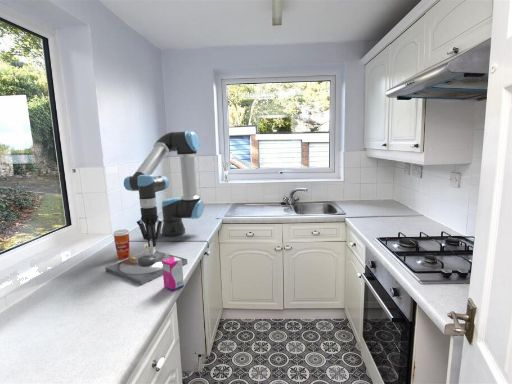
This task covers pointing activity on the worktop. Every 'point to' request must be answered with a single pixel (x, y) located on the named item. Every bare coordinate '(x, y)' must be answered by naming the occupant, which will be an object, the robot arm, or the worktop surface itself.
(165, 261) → the supplement box
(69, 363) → the worktop surface
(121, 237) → the paper cup
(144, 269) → the panel
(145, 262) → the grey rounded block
